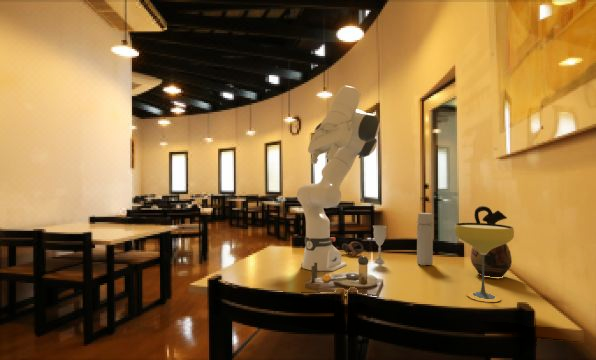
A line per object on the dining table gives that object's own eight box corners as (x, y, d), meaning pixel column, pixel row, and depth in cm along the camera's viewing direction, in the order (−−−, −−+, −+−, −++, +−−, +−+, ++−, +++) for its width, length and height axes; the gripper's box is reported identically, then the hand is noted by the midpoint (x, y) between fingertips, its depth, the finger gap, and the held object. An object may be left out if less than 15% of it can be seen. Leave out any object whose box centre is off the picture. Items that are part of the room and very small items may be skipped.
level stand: (318, 276, 144) (318, 257, 144) (383, 284, 134) (383, 263, 134) (301, 291, 125) (301, 269, 125) (375, 300, 115) (375, 276, 115)
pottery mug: (362, 254, 194) (365, 242, 190) (359, 264, 186) (363, 253, 182) (341, 247, 196) (344, 236, 192) (338, 258, 188) (341, 246, 184)
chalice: (370, 260, 175) (370, 225, 175) (383, 260, 175) (383, 225, 176) (375, 264, 168) (375, 227, 168) (388, 264, 168) (388, 227, 168)
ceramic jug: (510, 274, 151) (510, 206, 151) (512, 283, 138) (513, 208, 138) (467, 269, 159) (467, 204, 159) (465, 277, 146) (466, 206, 146)
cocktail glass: (445, 289, 128) (445, 222, 128) (492, 289, 129) (492, 222, 129) (472, 307, 110) (472, 229, 110) (526, 306, 111) (526, 229, 111)
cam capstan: (313, 279, 131) (313, 250, 131) (361, 274, 139) (362, 246, 140) (333, 293, 116) (334, 259, 116) (387, 286, 124) (387, 255, 124)
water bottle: (428, 267, 162) (428, 214, 163) (413, 264, 169) (413, 213, 169) (438, 264, 168) (438, 213, 168) (423, 261, 174) (423, 212, 175)
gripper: (361, 124, 109) (346, 161, 104) (326, 137, 127) (312, 169, 122) (347, 112, 107) (331, 150, 102) (313, 128, 124) (298, 160, 120)
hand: (320, 161), depth 112 cm, fingers open, 8 cm apart
